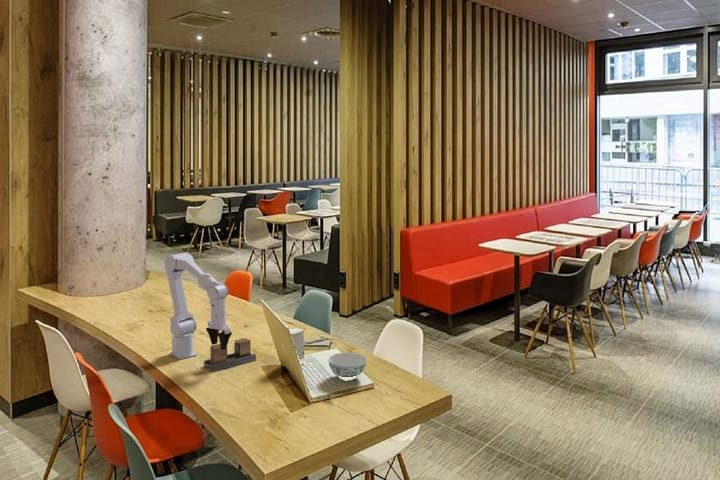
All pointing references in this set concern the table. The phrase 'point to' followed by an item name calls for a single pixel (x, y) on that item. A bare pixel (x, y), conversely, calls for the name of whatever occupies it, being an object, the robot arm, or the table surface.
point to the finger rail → (234, 356)
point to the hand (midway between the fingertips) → (219, 346)
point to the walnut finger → (218, 354)
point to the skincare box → (298, 341)
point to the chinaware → (347, 364)
